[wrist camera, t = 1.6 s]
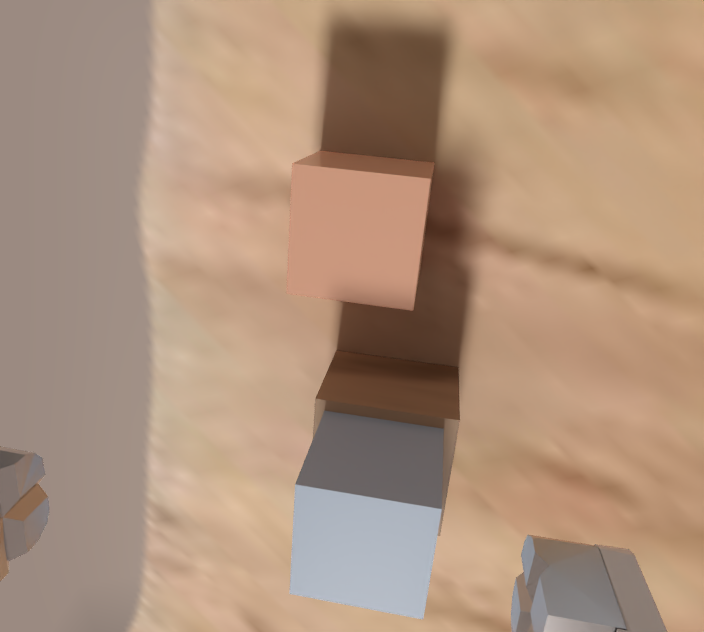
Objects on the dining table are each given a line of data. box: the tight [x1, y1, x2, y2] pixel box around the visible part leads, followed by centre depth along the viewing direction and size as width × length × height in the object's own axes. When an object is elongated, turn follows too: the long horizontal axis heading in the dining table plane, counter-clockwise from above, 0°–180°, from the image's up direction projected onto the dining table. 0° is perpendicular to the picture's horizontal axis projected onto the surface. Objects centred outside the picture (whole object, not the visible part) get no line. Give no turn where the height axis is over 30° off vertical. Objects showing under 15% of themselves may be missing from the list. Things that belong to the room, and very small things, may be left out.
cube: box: [286, 151, 435, 311], centre depth 24 cm, size 5×5×5 cm
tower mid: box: [290, 411, 444, 619], centre depth 23 cm, size 5×5×5 cm
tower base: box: [313, 350, 460, 536], centre depth 28 cm, size 6×6×5 cm
